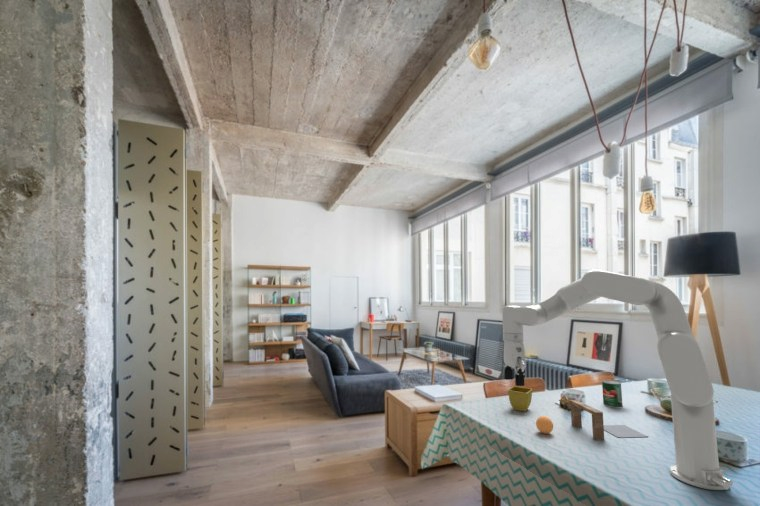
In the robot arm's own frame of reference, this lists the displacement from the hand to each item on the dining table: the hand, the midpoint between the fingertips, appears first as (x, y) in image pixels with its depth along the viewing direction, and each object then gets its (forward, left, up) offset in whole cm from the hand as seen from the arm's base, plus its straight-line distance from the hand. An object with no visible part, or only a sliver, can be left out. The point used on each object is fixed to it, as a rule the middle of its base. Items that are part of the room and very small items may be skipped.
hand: (514, 382), depth 138 cm
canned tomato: (+32, -63, -19) cm, 73 cm away
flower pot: (+28, -15, -19) cm, 37 cm away
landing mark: (0, -42, -19) cm, 46 cm away
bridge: (0, -28, -19) cm, 34 cm away
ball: (0, -11, -16) cm, 19 cm away
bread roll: (+30, -41, -19) cm, 54 cm away
